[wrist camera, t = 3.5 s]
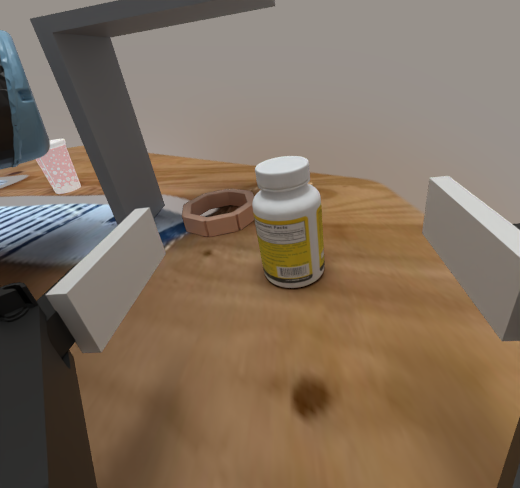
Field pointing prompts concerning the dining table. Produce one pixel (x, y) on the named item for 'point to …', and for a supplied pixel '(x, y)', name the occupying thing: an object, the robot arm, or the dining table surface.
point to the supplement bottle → (288, 222)
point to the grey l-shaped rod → (115, 86)
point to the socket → (219, 222)
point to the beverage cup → (59, 168)
